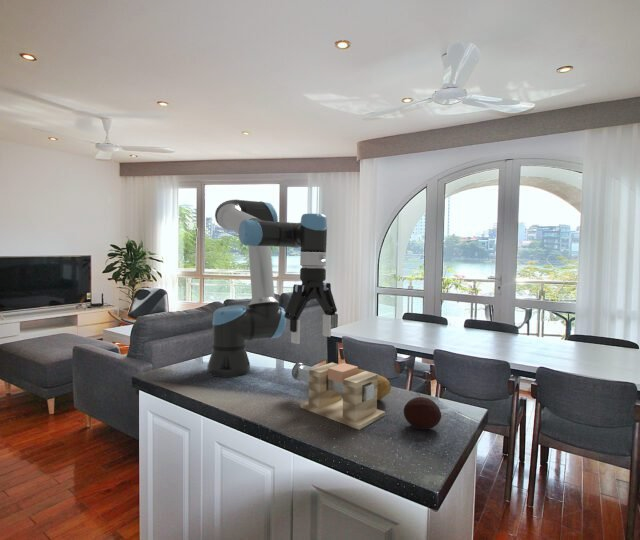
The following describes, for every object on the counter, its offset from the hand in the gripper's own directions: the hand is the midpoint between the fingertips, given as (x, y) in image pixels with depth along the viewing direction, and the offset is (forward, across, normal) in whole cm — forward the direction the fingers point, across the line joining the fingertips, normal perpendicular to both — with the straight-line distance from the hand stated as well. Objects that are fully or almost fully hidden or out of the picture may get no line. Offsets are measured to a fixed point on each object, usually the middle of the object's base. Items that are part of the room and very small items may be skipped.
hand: (311, 339), depth 114 cm
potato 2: (+18, +6, -33) cm, 38 cm away
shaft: (+13, 0, -8) cm, 15 cm away
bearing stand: (+18, 0, -12) cm, 22 cm away
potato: (+18, +13, -12) cm, 26 cm away
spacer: (+9, 0, -12) cm, 15 cm away
